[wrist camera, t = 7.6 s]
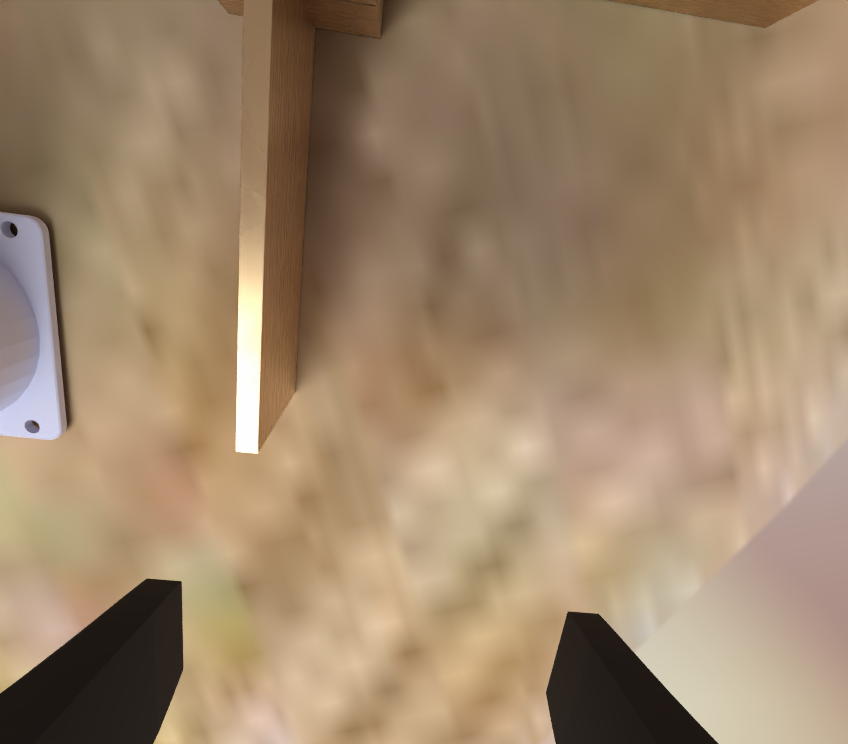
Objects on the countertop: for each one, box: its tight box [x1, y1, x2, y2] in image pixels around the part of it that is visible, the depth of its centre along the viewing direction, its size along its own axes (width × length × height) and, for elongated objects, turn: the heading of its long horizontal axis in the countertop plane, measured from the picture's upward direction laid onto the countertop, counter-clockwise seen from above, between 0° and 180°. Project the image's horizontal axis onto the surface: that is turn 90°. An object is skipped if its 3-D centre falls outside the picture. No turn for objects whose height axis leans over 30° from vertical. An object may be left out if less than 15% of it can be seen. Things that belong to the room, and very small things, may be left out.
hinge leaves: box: [218, 0, 818, 453], centre depth 14 cm, size 17×17×5 cm
